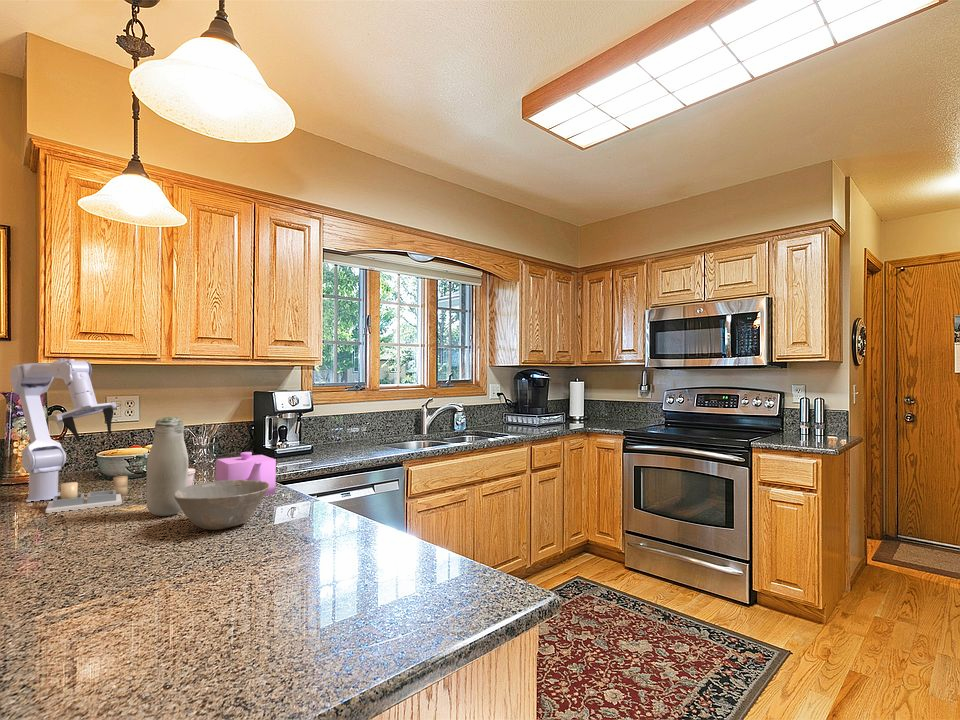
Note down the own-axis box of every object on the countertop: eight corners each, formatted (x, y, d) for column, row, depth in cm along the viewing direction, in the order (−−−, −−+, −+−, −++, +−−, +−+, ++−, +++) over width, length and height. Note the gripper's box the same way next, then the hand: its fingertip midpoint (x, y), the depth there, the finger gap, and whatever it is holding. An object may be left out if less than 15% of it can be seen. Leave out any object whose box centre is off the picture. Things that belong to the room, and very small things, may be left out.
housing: (48, 505, 159) (49, 482, 159) (120, 496, 169) (120, 475, 169) (45, 513, 149) (46, 489, 149) (121, 504, 160) (122, 481, 160)
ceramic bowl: (154, 530, 134) (155, 491, 134) (233, 510, 154) (234, 476, 155) (209, 544, 124) (210, 502, 124) (286, 520, 144) (286, 484, 144)
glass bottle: (141, 521, 142) (143, 418, 143) (153, 511, 152) (155, 415, 153) (181, 518, 145) (183, 418, 146) (190, 509, 155) (192, 415, 156)
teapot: (234, 505, 160) (235, 460, 160) (211, 491, 178) (211, 450, 179) (283, 497, 170) (284, 455, 170) (256, 485, 189) (257, 446, 189)
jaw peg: (112, 494, 172) (113, 476, 172) (127, 493, 175) (127, 475, 175) (112, 497, 169) (113, 478, 169) (127, 495, 171) (128, 477, 171)
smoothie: (187, 503, 162) (188, 458, 162) (167, 503, 162) (168, 458, 162) (199, 498, 168) (200, 455, 169) (179, 498, 168) (180, 454, 169)
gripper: (51, 397, 150) (62, 439, 147) (110, 385, 159) (122, 425, 156) (54, 406, 156) (65, 447, 153) (112, 394, 165) (123, 432, 162)
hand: (94, 436), depth 155 cm, fingers open, 7 cm apart
